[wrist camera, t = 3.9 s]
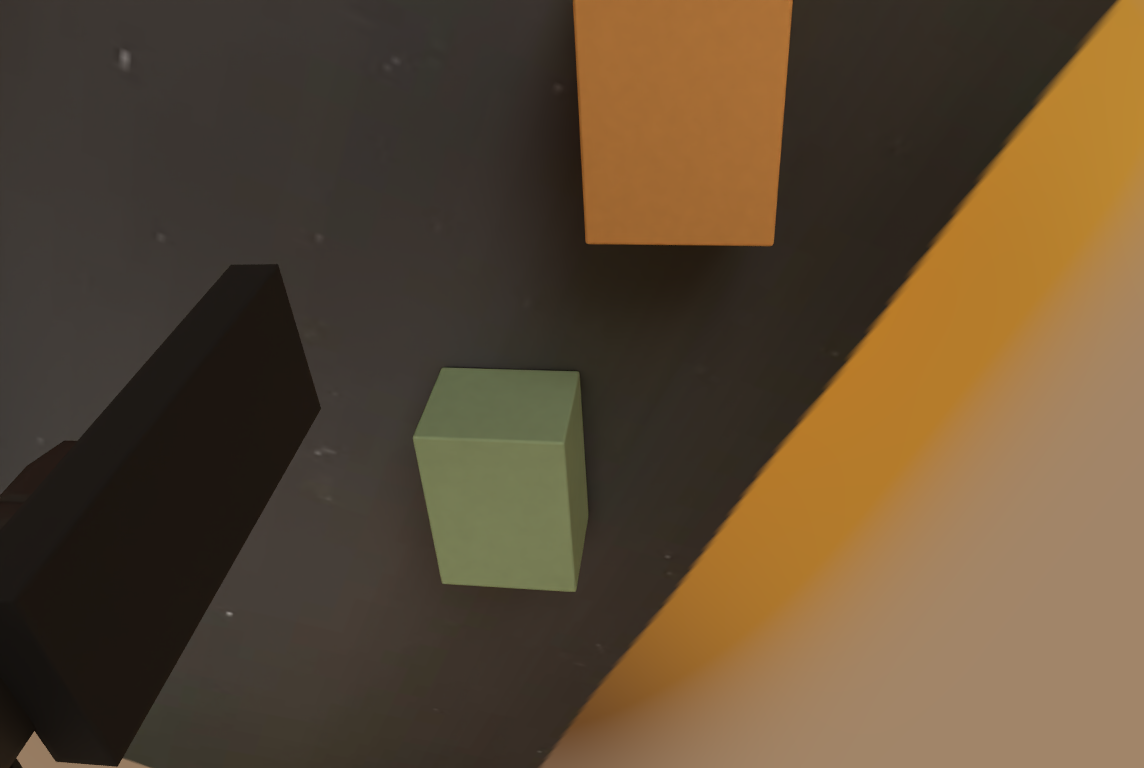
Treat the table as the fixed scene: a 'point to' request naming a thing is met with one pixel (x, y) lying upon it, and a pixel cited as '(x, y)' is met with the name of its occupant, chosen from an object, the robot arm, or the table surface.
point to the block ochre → (681, 119)
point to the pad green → (505, 477)
